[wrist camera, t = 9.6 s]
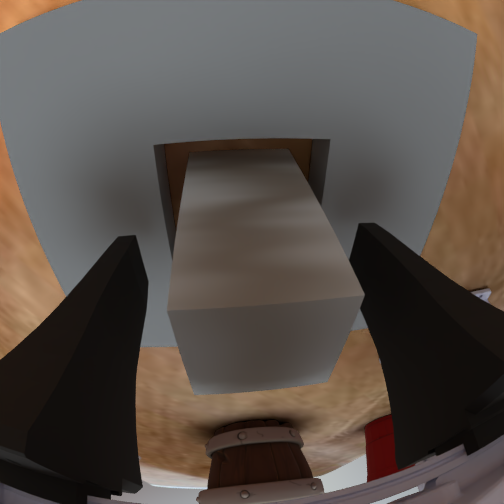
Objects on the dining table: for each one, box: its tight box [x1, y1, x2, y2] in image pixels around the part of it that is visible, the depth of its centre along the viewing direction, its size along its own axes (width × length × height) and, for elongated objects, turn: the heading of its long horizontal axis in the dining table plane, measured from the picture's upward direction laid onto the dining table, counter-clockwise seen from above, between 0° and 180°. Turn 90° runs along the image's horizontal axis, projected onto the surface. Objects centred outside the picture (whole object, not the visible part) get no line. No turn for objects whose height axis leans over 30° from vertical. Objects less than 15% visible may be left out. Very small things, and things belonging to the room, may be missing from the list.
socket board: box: [0, 0, 477, 347], centre depth 12 cm, size 18×17×2 cm
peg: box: [167, 149, 365, 395], centre depth 10 cm, size 4×4×8 cm
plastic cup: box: [365, 415, 415, 482], centre depth 37 cm, size 11×11×12 cm
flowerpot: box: [196, 420, 324, 504], centre depth 27 cm, size 14×15×20 cm
